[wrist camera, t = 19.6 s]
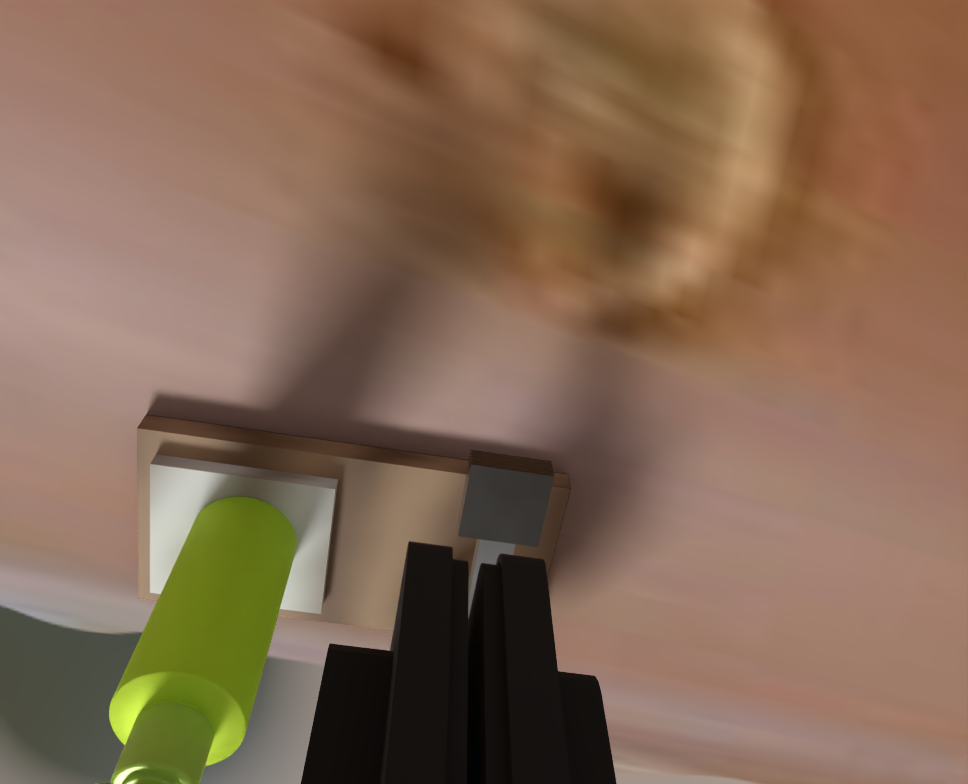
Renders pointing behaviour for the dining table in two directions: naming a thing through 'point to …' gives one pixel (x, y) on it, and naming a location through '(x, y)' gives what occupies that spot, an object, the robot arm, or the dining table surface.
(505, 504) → the lever
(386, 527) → the base
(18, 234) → the dining table surface
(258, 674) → the soap dispenser
